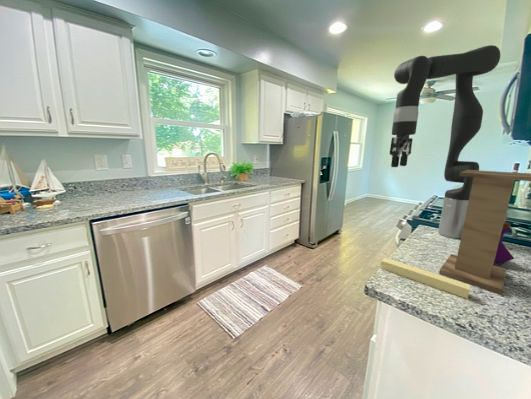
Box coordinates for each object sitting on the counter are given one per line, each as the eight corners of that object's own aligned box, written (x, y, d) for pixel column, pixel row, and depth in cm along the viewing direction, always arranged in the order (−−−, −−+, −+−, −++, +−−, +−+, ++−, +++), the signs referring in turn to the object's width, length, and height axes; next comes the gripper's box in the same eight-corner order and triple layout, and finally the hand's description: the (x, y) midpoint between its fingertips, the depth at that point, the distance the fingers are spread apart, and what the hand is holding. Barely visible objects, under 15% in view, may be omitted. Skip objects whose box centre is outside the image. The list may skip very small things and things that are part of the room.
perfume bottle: (512, 267, 76) (526, 215, 72) (486, 265, 78) (498, 214, 74) (495, 256, 83) (507, 209, 79) (471, 255, 85) (482, 208, 81)
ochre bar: (383, 265, 78) (384, 257, 77) (468, 294, 63) (470, 285, 62) (380, 268, 76) (381, 260, 75) (467, 299, 61) (469, 289, 60)
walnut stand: (450, 257, 83) (468, 169, 76) (505, 273, 73) (532, 173, 65) (438, 273, 72) (458, 173, 65) (501, 294, 62) (532, 177, 55)
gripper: (409, 118, 74) (403, 168, 78) (423, 121, 84) (416, 166, 87) (385, 120, 80) (380, 167, 84) (400, 123, 89) (395, 165, 93)
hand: (398, 166), depth 85 cm, fingers open, 8 cm apart
